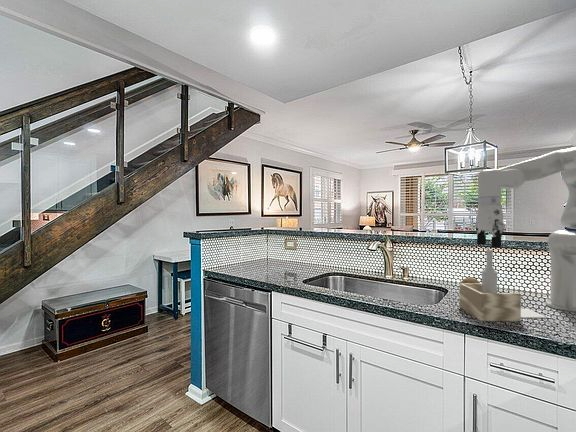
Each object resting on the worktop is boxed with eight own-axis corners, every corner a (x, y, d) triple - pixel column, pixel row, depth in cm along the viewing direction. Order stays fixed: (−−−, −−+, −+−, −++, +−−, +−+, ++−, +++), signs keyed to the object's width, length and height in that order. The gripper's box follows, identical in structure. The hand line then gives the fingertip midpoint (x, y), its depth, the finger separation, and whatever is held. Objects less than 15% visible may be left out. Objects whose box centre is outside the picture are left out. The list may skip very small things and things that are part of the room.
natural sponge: (464, 295, 148) (464, 274, 148) (485, 299, 142) (485, 277, 141) (456, 299, 142) (456, 277, 142) (478, 303, 136) (478, 280, 135)
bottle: (479, 311, 126) (480, 249, 126) (494, 312, 125) (494, 249, 124) (483, 315, 121) (484, 250, 121) (499, 316, 120) (499, 251, 119)
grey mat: (527, 309, 127) (527, 308, 127) (547, 318, 117) (547, 317, 117) (502, 309, 128) (502, 308, 128) (519, 318, 118) (519, 317, 118)
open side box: (494, 307, 131) (494, 283, 131) (520, 321, 115) (520, 293, 115) (459, 307, 131) (459, 283, 131) (481, 321, 115) (481, 293, 115)
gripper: (514, 201, 113) (513, 248, 114) (486, 202, 130) (485, 243, 131) (492, 201, 114) (491, 248, 114) (467, 202, 131) (467, 243, 131)
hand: (488, 245), depth 122 cm, fingers open, 9 cm apart
